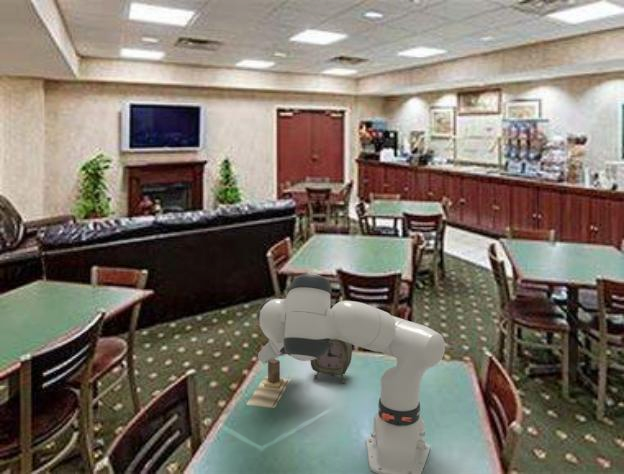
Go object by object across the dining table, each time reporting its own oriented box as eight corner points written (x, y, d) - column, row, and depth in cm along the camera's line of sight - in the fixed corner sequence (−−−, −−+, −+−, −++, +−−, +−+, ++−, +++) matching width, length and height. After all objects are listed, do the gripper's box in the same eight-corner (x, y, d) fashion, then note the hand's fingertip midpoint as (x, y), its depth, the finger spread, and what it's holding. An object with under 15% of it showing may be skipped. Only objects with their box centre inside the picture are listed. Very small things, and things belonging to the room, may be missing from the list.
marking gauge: (283, 381, 192) (283, 358, 191) (279, 388, 187) (279, 364, 185) (268, 380, 194) (268, 357, 192) (264, 386, 188) (264, 363, 187)
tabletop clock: (309, 380, 197) (310, 317, 193) (316, 370, 206) (317, 309, 201) (347, 386, 193) (348, 321, 188) (352, 375, 201) (354, 313, 197)
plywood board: (274, 412, 174) (274, 408, 173) (245, 408, 176) (245, 404, 175) (290, 382, 195) (290, 379, 195) (265, 380, 197) (265, 376, 197)
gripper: (308, 323, 190) (289, 342, 198) (266, 339, 175) (247, 358, 183) (317, 338, 187) (297, 356, 196) (276, 355, 172) (256, 374, 181)
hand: (273, 357), depth 189 cm, fingers open, 8 cm apart
